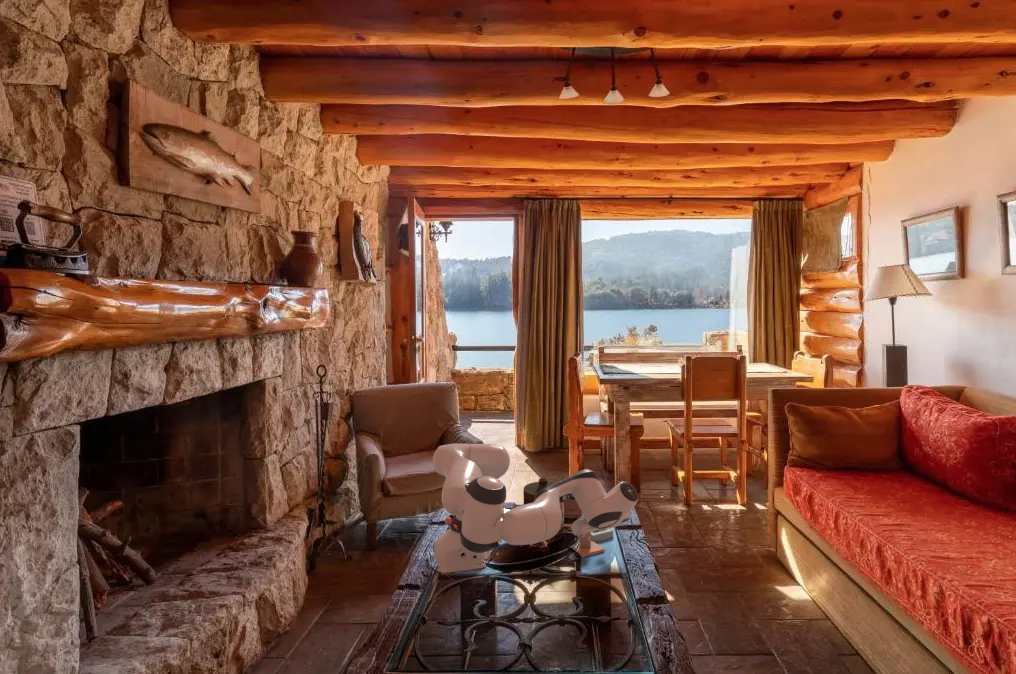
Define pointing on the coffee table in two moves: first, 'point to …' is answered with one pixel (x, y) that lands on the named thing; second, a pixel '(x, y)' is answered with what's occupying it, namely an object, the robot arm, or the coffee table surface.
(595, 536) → the pocket holder
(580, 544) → the peg
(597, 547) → the terracotta tile
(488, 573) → the coffee table surface
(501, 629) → the coffee table surface
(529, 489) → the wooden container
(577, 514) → the lighter
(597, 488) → the robot arm
